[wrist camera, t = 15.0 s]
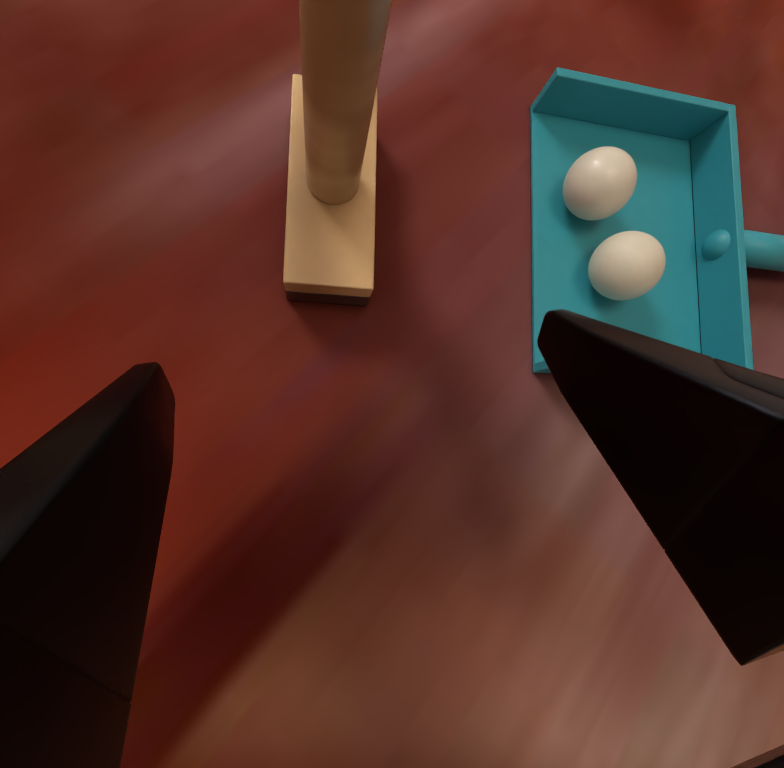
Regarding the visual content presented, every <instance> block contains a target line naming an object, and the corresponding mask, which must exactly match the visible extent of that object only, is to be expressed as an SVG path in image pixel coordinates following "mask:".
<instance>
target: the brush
mask: <svg viewBox="0 0 784 768" xmlns="http://www.w3.org/2000/svg"><path fill="white" fill-rule="evenodd" d="M391 5H392V0H299V13H300V38H301V64H302V75H297V74H293V76H292V96H291V118H290V140H289V162H288V184H287V207H286V229H285V251H284V273H283V283H284V287H285V292H286V296H287V300H291V301H305V302H319V303H333V304H347V305H361V306H367V303H368V301H369V299H370V296H371V294H372V291H373V289H374V250H375V201H376V152H377V104H378V90H377V83H378V77H379V72H380V66H381V61H382V55H383V49H384V44H385V38H386V33H387V27H388V22H389V16H390V11H391Z"/></svg>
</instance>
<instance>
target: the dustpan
mask: <svg viewBox="0 0 784 768" xmlns="http://www.w3.org/2000/svg"><path fill="white" fill-rule="evenodd" d="M530 118H531V226H532V335H533V372H534V373H551V372H550V370H549V368H548V366H547V364H546V362H545V360H544V358H543V356H542V354H541V352H540V350H539V348H538V343H537V339H538V335H539V332H540V328H541V325H542V322H543V318H544V316H545V314H546V313H547V312H548V311H551V310H558V309H565V310H568V311H571V312H574V313H578V314H581V315H584V316H587V317H590V318H593V319H596V320H599V321H602V322H605V323H608V324H612V325H615V326H618V327H621V328H624V329H627V330H630V331H633V332H636V333H639V334H643V335H646V336H649V337H652V338H655V339H658V340H661V341H664V342H667V343H670V344H673V345H677V346H680V347H683V348H686V349H689V350H692V351H695V352H698V353H701V350H702V354H704V355H707V356H711V357H712V358H713V359H714V358H717V359H720V360H723V361H726V362H729V363H732V364H736V365H739V366H742V367H745V368H748V369H752V370H753V356H752V341H751V327H750V312H749V297H748V283H747V268H746V267H750V268H758V269H766V270H774V271H782V272H784V235H777V234H770V233H763V232H756V231H749V230H744V225H743V210H742V195H741V181H740V166H739V152H738V137H737V123H736V108H735V105H731V104H726V103H722V102H717V101H712V100H708V99H703V98H698V97H694V96H689V95H684V94H680V93H675V92H670V91H666V90H661V89H656V88H652V87H647V86H642V85H638V84H633V83H628V82H624V81H619V80H614V79H610V78H605V77H600V76H596V75H591V74H586V73H582V72H577V71H572V70H568V69H563V68H556V70H555V71H554V73H553V74H552V76H551V77H550V79H549V80H548V82H547V83H546V85H545V86H544V88H543V89H542V91H541V92H540V94H539V95H538V96H537V98H536V99H535V101H534V102H533V104H532V105H531V106H530ZM689 141H690V144H689ZM604 146H612V147H617V148H620V149H622V150H624V151H625V152H627V153H628V154H629V155H630V156H631V157H632V159H633V160H634V162H635V165H636V169H637V183H636V187H635V190H634V192H633V194H632V196H631V198H630V199H629V201H628V202H627V203H626V204H625V206H624V207H623V208H621V209H620V210H619V211H618V212H616V213H615V214H613V215H612V216H609V217H607V218H604V219H601V220H584V219H581V218H578V217H576V216H575V215H573V214H572V213H571V212H570V211H569V210H568V208H567V207H566V205H565V202H564V199H563V183H564V179H565V176H566V174H567V172H568V170H569V169H570V167H571V166H572V164H573V163H574V162H575V161H576V160H577V159H578V158H579V157H580V156H582V155H583V154H585V153H586V152H588V151H590V150H592V149H595V148H598V147H604ZM690 149H691V163H690ZM691 168H692V181H691ZM692 186H693V199H692ZM693 204H694V217H693ZM694 222H695V236H694ZM624 231H640V232H644V233H647V234H649V235H651V236H653V237H654V238H655V239H657V240H658V241H659V243H660V244H661V245H662V247H663V249H664V252H665V256H666V265H665V270H664V272H663V275H662V277H661V279H660V280H659V282H658V283H657V284H656V285H655V286H654V287H653V288H652V289H651V290H650V291H648V292H647V293H646V294H644V295H642V296H640V297H637V298H634V299H631V300H622V301H620V300H612V299H609V298H606V297H604V296H602V295H601V294H599V293H598V292H597V291H596V290H595V289H594V288H593V286H592V284H591V282H590V280H589V276H588V266H589V261H590V259H591V256H592V254H593V252H594V251H595V250H596V248H597V247H598V246H599V245H600V244H601V243H602V242H603V241H604V240H606V239H607V238H609V237H611V236H613V235H615V234H617V233H620V232H624ZM695 241H696V254H695ZM696 259H697V272H696ZM697 277H698V291H697ZM698 295H699V309H698ZM699 313H700V327H699ZM700 332H701V345H700Z"/></svg>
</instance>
